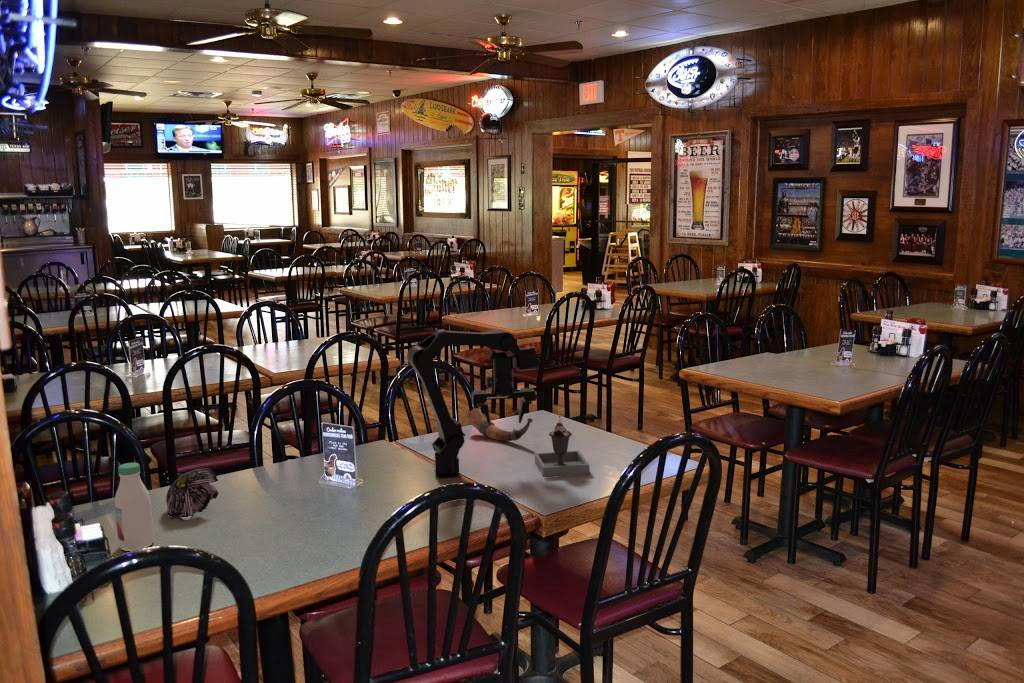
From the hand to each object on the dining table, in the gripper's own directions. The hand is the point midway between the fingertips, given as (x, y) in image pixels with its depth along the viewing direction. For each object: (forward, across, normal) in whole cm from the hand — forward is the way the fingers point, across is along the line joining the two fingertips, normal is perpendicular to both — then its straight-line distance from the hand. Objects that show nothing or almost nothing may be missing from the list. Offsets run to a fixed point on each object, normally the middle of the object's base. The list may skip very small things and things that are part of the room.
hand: (504, 423), depth 247 cm
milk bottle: (+13, +94, +40) cm, 103 cm away
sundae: (+13, -16, +6) cm, 21 cm away
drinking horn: (+13, -2, -26) cm, 29 cm away
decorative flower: (+13, +86, +19) cm, 89 cm away
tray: (+13, -16, +6) cm, 21 cm away
